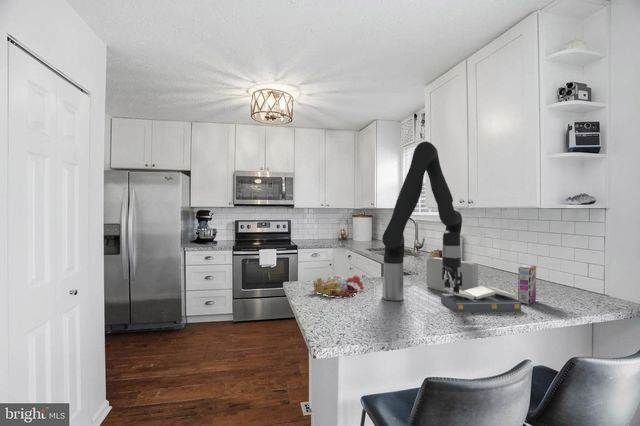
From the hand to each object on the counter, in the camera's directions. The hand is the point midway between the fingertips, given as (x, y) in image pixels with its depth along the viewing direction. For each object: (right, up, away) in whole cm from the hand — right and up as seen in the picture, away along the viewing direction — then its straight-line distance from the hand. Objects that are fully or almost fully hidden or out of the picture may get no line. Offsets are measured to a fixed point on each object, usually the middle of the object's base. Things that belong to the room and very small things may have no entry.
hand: (451, 293), depth 139 cm
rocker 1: (+3, 0, 0) cm, 3 cm away
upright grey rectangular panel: (+11, -6, +27) cm, 29 cm away
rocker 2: (+12, 0, +1) cm, 12 cm away
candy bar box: (+38, -6, +8) cm, 39 cm away
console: (+12, -6, +1) cm, 14 cm away
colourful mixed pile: (-48, -7, +26) cm, 55 cm away
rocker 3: (+22, 0, +1) cm, 22 cm away
